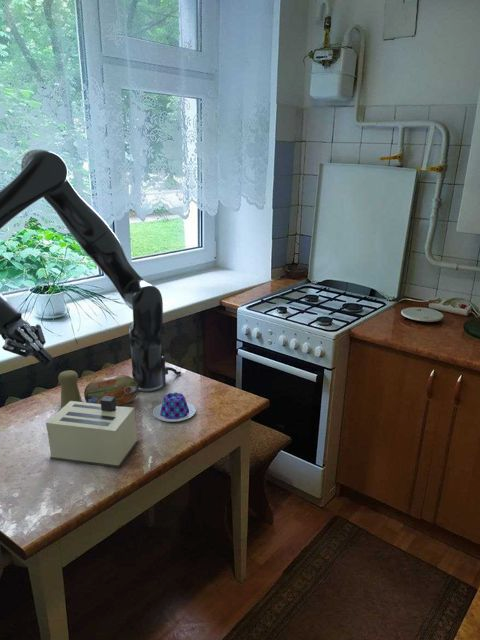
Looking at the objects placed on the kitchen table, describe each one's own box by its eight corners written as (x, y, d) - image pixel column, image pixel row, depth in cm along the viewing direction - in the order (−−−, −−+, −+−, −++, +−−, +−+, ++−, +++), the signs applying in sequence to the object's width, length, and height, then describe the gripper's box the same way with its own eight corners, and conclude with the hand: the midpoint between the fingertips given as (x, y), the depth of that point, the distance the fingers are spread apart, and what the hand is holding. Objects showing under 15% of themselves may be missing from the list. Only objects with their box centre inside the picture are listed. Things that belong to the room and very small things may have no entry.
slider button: (105, 405, 123) (104, 395, 121) (115, 406, 122) (114, 396, 121) (101, 410, 120) (100, 400, 119) (111, 411, 120) (110, 401, 119)
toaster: (77, 431, 130) (72, 397, 126) (140, 438, 128) (137, 404, 124) (50, 459, 118) (44, 422, 114) (119, 468, 116) (115, 431, 112)
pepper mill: (86, 402, 144) (82, 368, 140) (77, 413, 139) (73, 377, 135) (66, 401, 145) (62, 367, 141) (56, 411, 139) (51, 376, 135)
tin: (86, 411, 140) (83, 385, 136) (84, 406, 142) (81, 380, 139) (139, 401, 146) (137, 375, 143) (136, 397, 149) (135, 371, 146)
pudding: (148, 407, 143) (147, 391, 141) (187, 399, 148) (187, 384, 146) (160, 427, 133) (159, 410, 131) (202, 418, 138) (201, 401, 136)
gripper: (-16, 308, 109) (43, 364, 112) (20, 292, 121) (73, 343, 124) (-34, 329, 111) (25, 383, 114) (4, 312, 123) (56, 361, 126)
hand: (50, 362), depth 119 cm, fingers closed
